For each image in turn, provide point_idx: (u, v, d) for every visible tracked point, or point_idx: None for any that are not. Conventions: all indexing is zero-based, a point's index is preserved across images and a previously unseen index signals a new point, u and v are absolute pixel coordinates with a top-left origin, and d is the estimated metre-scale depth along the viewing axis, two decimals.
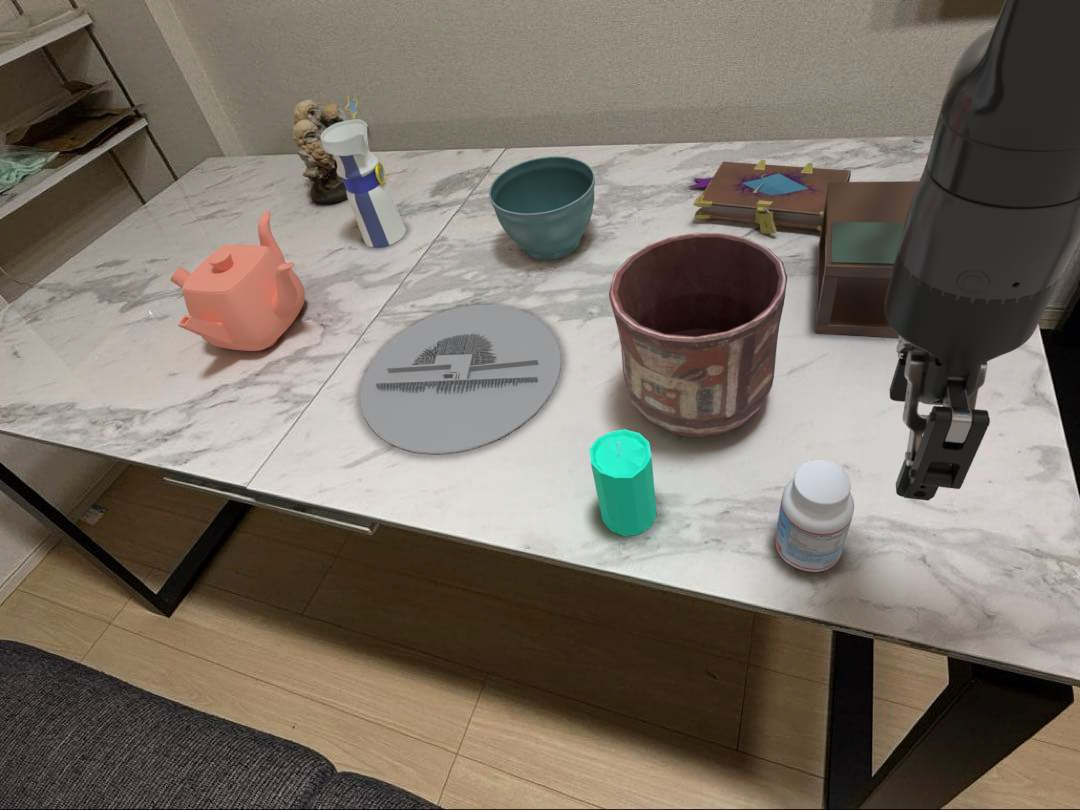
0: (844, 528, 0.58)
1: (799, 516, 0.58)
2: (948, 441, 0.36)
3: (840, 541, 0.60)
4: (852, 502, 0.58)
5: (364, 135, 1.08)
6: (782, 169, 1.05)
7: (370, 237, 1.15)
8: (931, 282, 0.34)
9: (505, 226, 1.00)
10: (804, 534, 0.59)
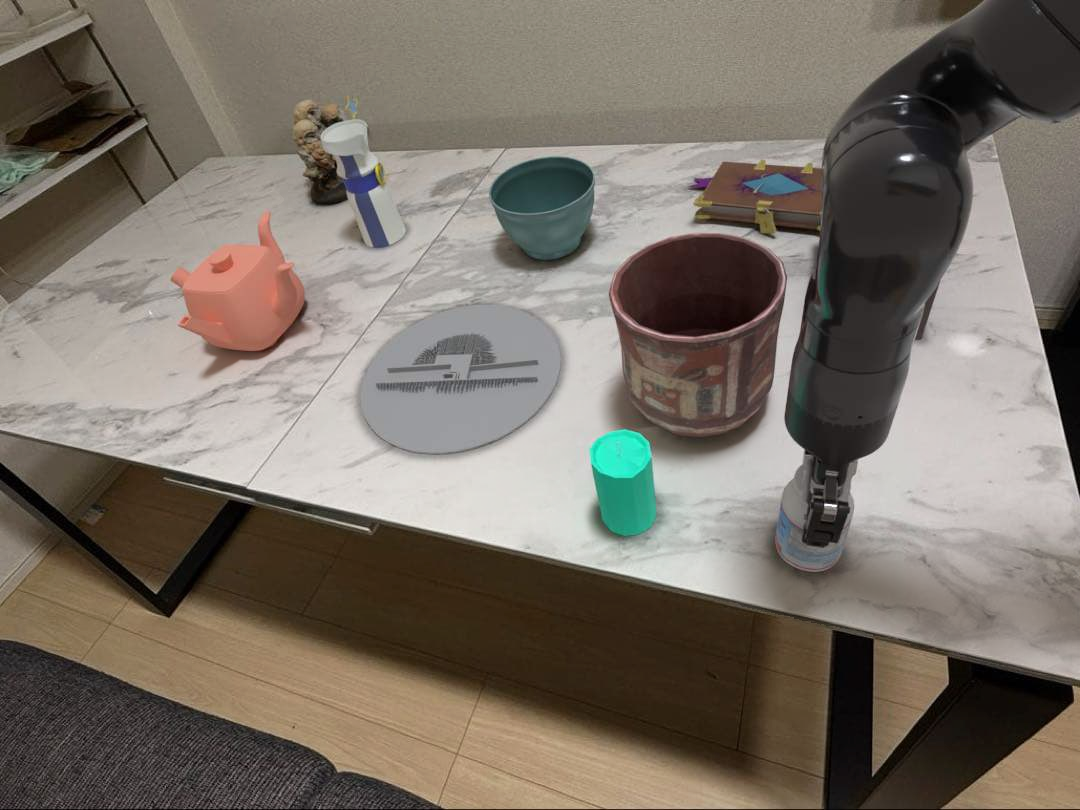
0: (844, 528, 0.58)
1: (799, 516, 0.58)
2: (823, 520, 0.50)
3: (840, 541, 0.60)
4: (852, 502, 0.58)
5: (364, 135, 1.08)
6: (782, 169, 1.05)
7: (370, 237, 1.15)
8: (806, 410, 0.47)
9: (505, 226, 1.00)
10: None
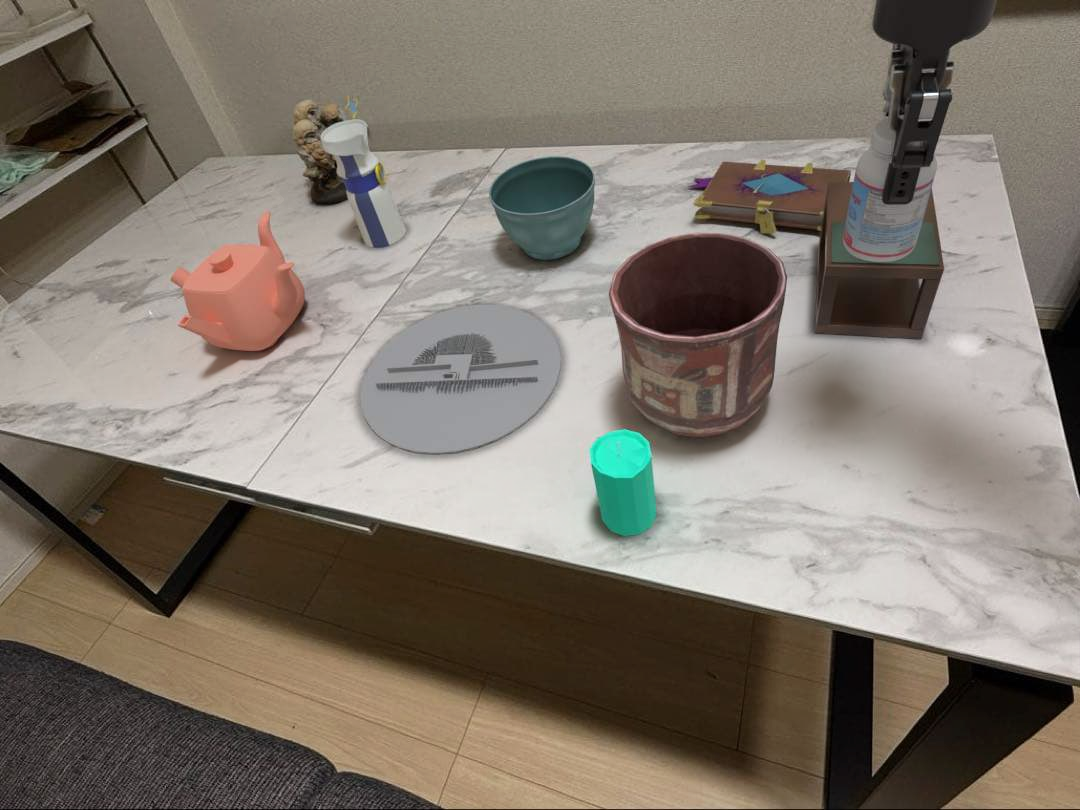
0: (927, 185, 0.54)
1: (879, 173, 0.54)
2: (920, 120, 0.46)
3: (920, 209, 0.56)
4: (935, 158, 0.54)
5: (364, 135, 1.08)
6: (782, 169, 1.05)
7: (370, 237, 1.15)
8: None
9: (505, 226, 1.00)
10: None
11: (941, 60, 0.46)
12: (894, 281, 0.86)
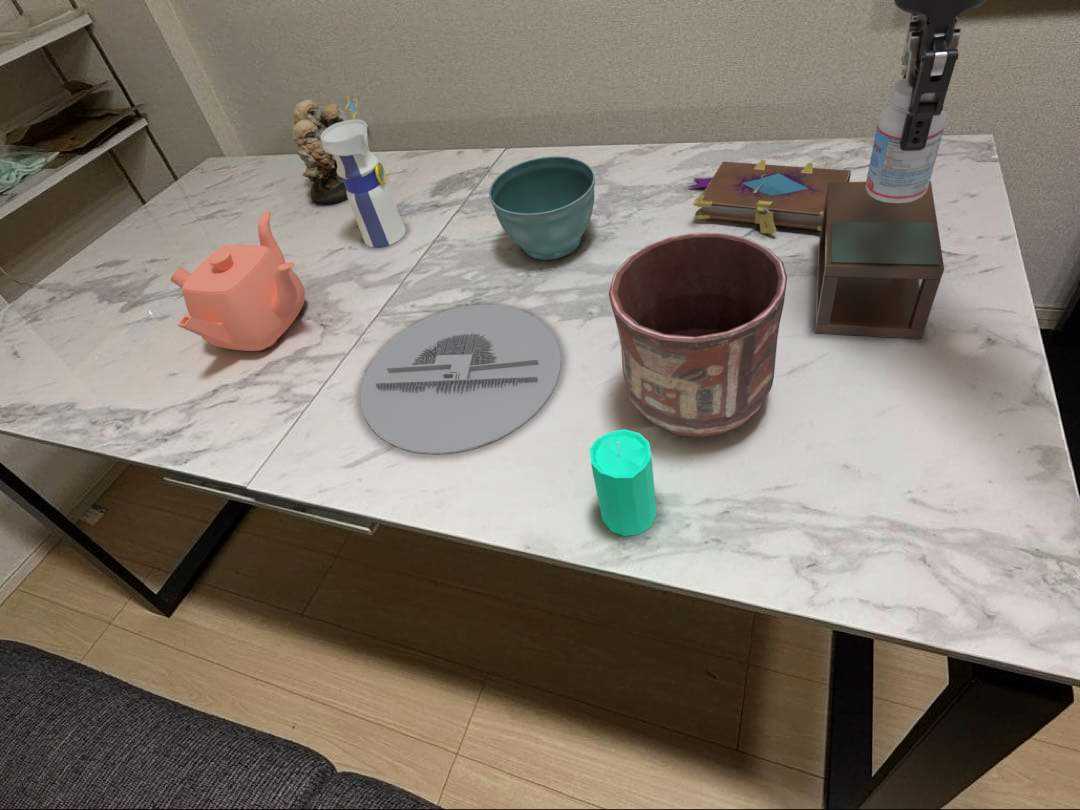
0: (937, 134, 0.65)
1: (897, 124, 0.65)
2: (932, 75, 0.57)
3: (932, 155, 0.67)
4: (944, 112, 0.65)
5: (364, 135, 1.08)
6: (782, 169, 1.05)
7: (370, 237, 1.15)
8: None
9: (505, 226, 1.00)
10: None
11: (950, 26, 0.57)
12: (894, 281, 0.86)
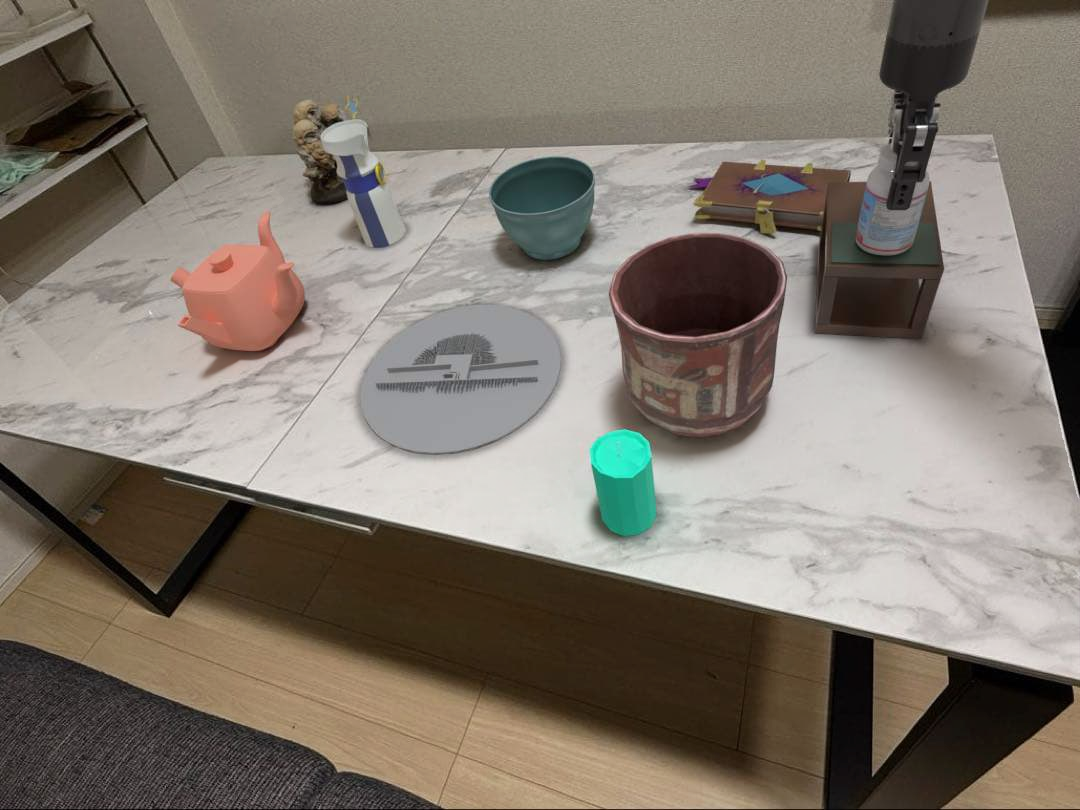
0: (921, 196, 0.70)
1: (884, 186, 0.70)
2: (915, 145, 0.62)
3: (916, 214, 0.72)
4: (928, 175, 0.70)
5: (364, 135, 1.08)
6: (782, 169, 1.05)
7: (370, 237, 1.15)
8: (905, 40, 0.59)
9: (505, 226, 1.00)
10: None
11: (930, 103, 0.62)
12: (894, 281, 0.86)
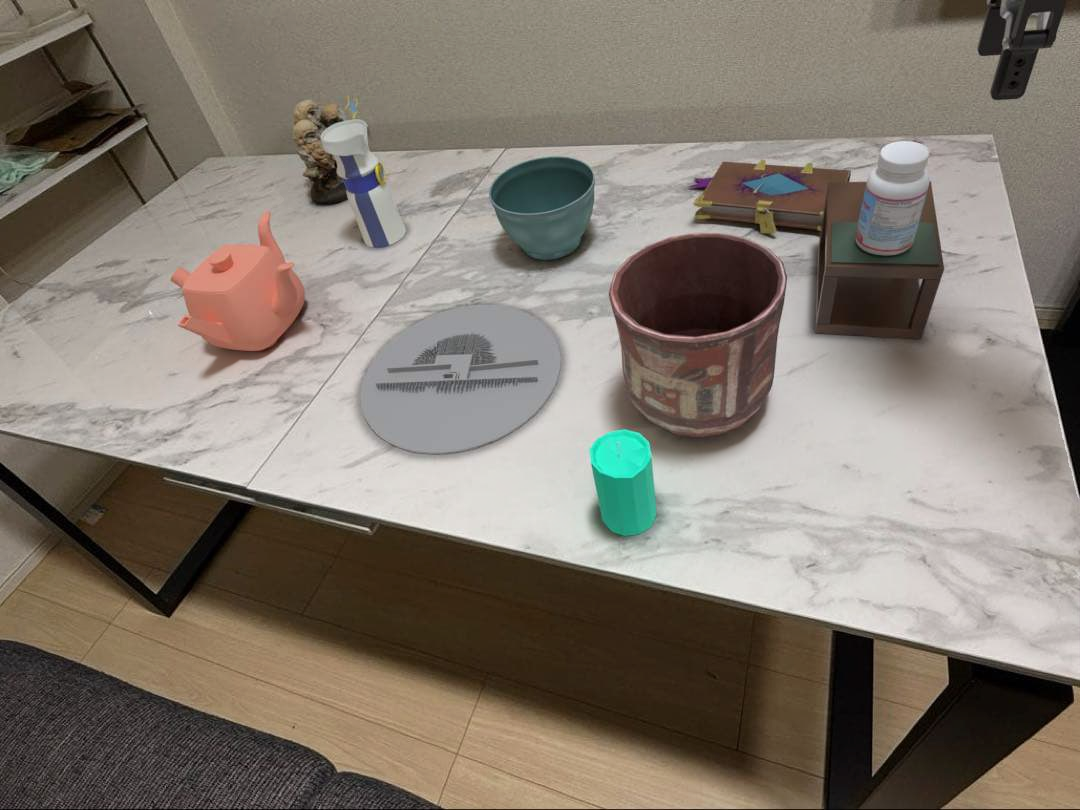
0: (921, 196, 0.70)
1: (884, 186, 0.70)
2: None
3: (916, 214, 0.72)
4: (928, 175, 0.70)
5: (364, 135, 1.08)
6: (782, 169, 1.05)
7: (370, 237, 1.15)
8: None
9: (505, 226, 1.00)
10: (887, 205, 0.71)
11: None
12: (894, 281, 0.86)
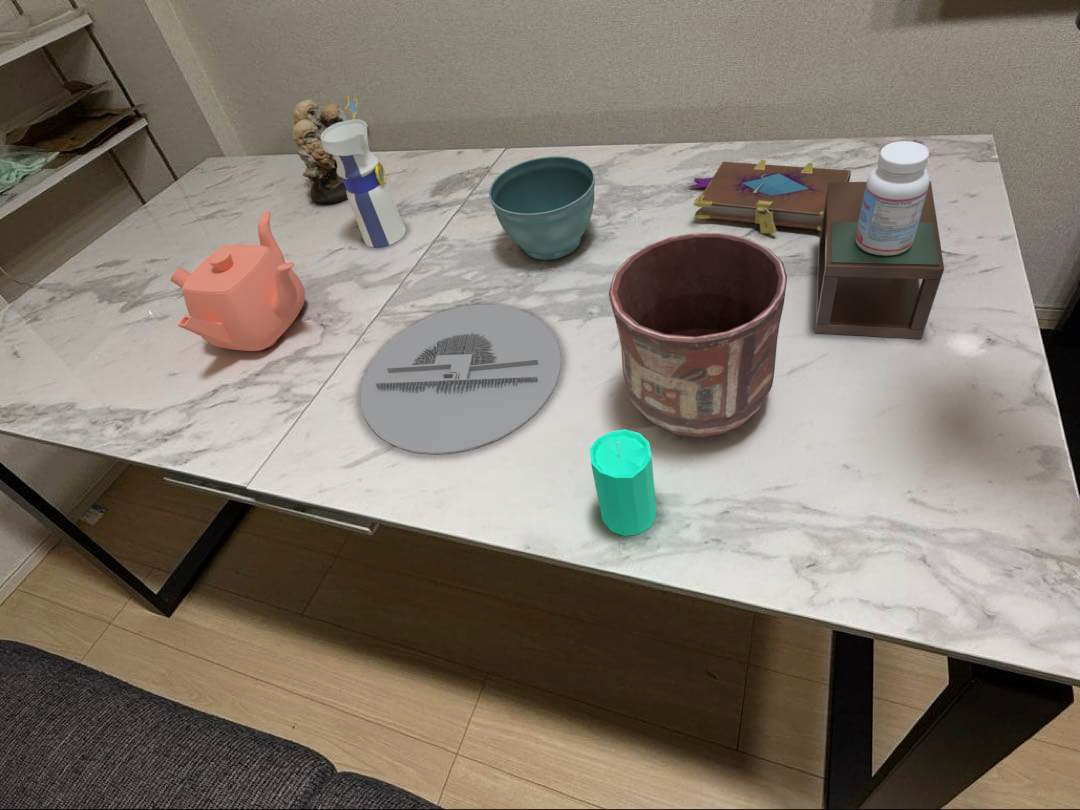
0: (921, 196, 0.70)
1: (884, 186, 0.70)
2: None
3: (916, 214, 0.72)
4: (928, 175, 0.70)
5: (364, 135, 1.08)
6: (782, 169, 1.05)
7: (370, 237, 1.15)
8: None
9: (505, 226, 1.00)
10: (887, 205, 0.71)
11: None
12: (894, 281, 0.86)
